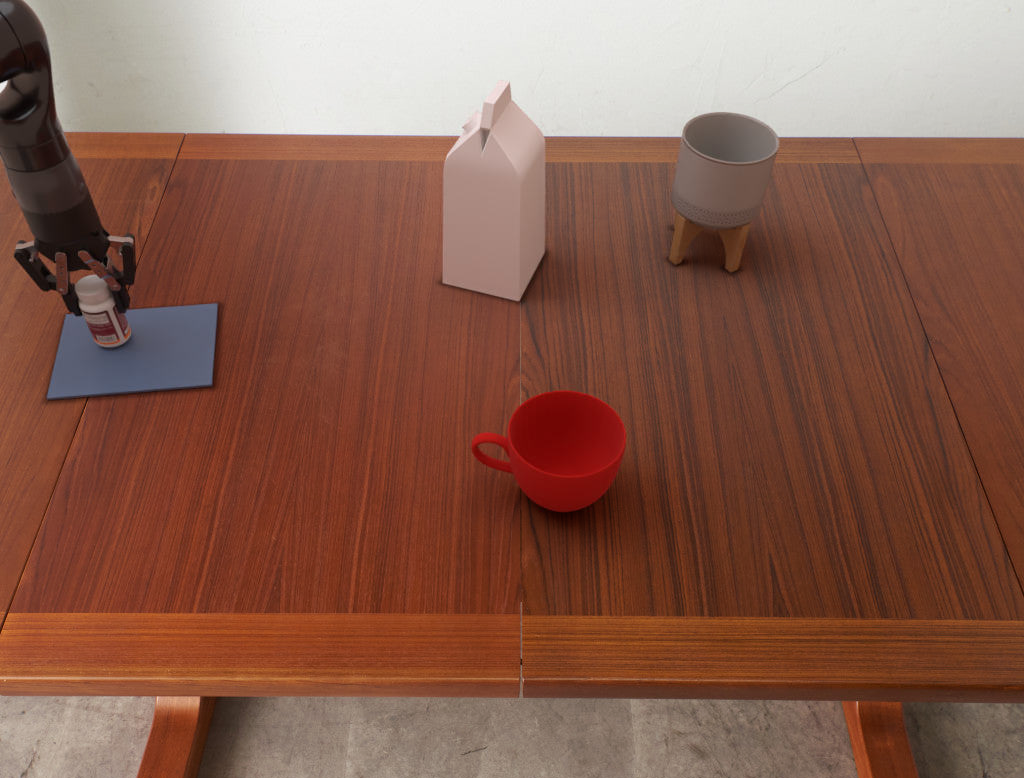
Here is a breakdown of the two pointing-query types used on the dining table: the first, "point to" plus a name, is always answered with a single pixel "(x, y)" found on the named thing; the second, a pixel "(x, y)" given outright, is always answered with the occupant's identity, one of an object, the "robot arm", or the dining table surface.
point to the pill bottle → (101, 312)
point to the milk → (494, 200)
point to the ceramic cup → (560, 449)
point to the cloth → (138, 354)
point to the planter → (721, 180)
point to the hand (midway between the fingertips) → (101, 310)
